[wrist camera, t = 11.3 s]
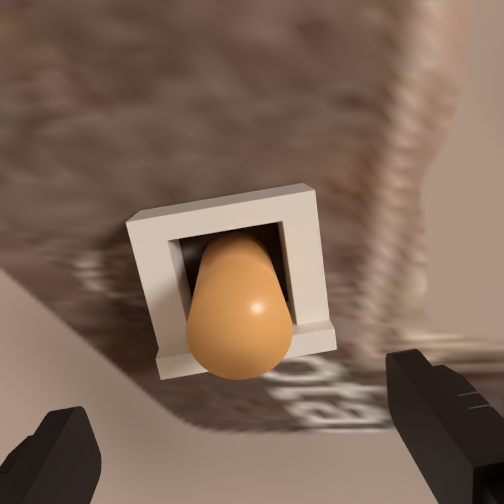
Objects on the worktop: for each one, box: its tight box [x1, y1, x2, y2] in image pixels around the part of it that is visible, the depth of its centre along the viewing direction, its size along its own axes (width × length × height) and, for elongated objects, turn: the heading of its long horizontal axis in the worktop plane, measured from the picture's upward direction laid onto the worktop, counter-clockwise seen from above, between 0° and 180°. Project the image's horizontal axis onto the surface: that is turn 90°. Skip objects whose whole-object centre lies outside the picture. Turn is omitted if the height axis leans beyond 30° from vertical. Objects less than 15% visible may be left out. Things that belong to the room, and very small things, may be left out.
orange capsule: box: [186, 232, 293, 380], centre depth 18 cm, size 4×4×8 cm
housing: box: [126, 183, 337, 380], centre depth 20 cm, size 8×9×4 cm
